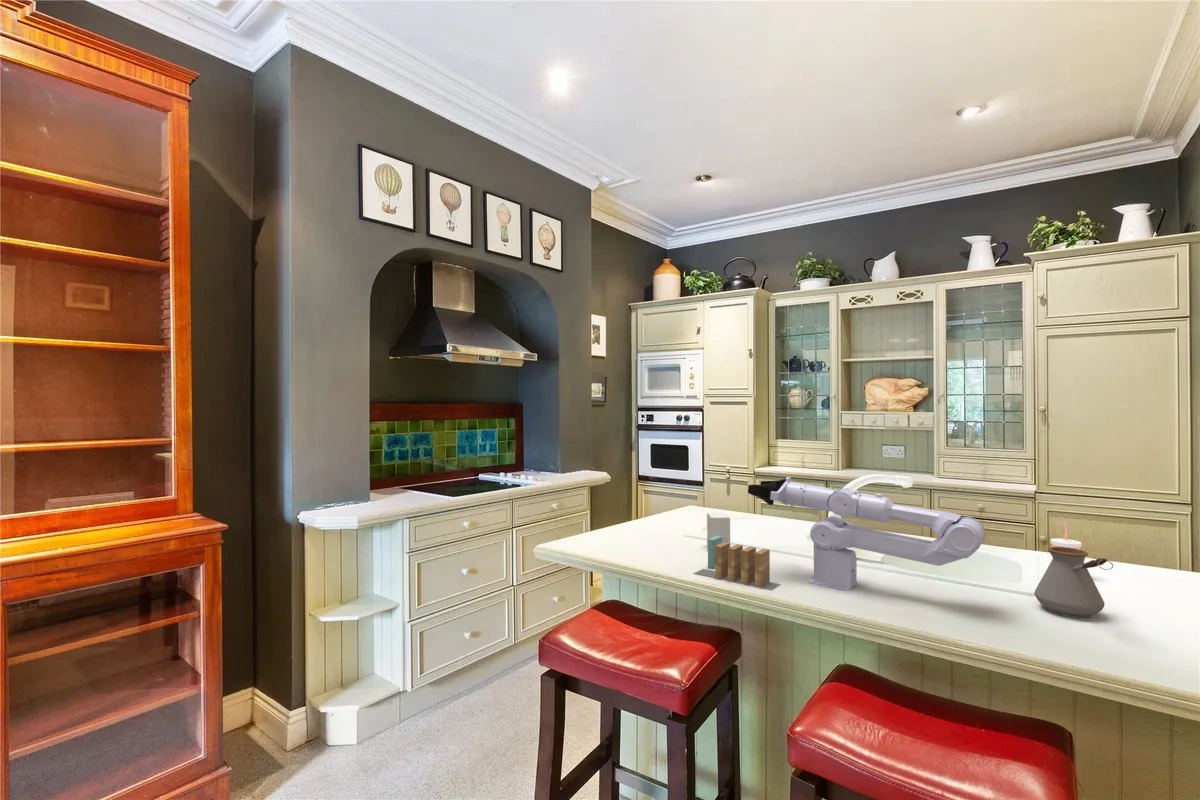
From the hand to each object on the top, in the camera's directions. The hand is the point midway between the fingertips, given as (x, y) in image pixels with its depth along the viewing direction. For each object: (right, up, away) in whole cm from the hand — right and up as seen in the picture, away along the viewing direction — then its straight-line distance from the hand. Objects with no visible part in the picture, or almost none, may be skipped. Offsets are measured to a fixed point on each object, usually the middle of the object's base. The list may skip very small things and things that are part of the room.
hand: (754, 487), depth 152 cm
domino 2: (-7, -21, -9) cm, 25 cm away
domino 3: (-5, -21, -12) cm, 25 cm away
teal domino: (-10, -22, +1) cm, 24 cm away
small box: (-6, -22, +20) cm, 30 cm away
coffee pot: (+56, -22, -36) cm, 70 cm away
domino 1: (-10, -21, -7) cm, 25 cm away
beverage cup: (+76, -22, -8) cm, 80 cm away
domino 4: (-2, -21, -14) cm, 26 cm away
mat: (-7, -22, -9) cm, 25 cm away
